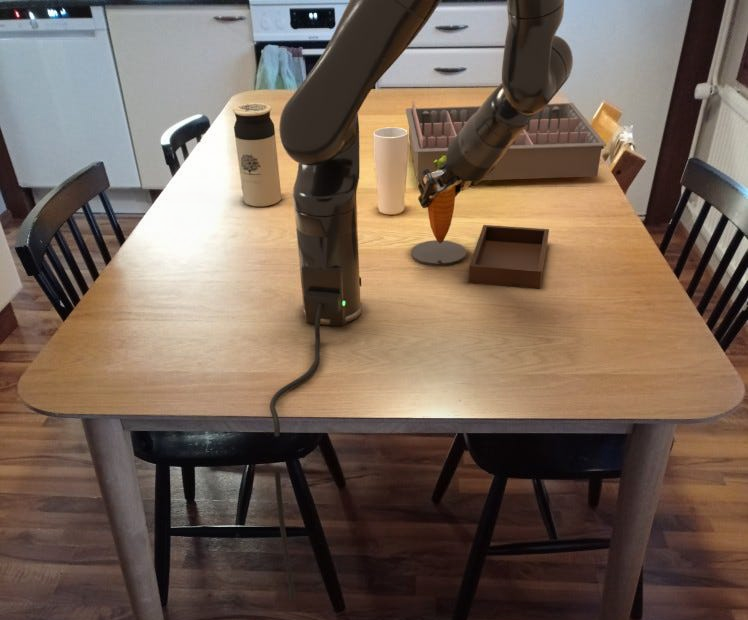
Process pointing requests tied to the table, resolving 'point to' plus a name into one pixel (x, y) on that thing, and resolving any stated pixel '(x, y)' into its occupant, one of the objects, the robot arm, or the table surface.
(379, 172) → the drinking glass
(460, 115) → the organizer tray
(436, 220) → the carrot
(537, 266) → the tray
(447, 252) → the metal coaster
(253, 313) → the table surface
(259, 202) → the travel mug
